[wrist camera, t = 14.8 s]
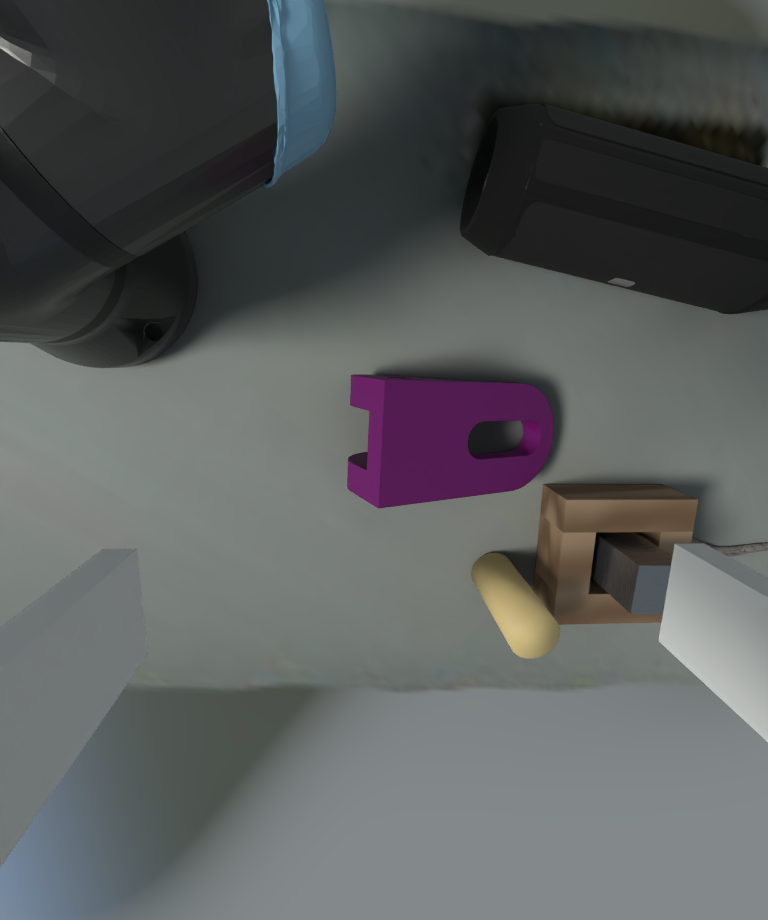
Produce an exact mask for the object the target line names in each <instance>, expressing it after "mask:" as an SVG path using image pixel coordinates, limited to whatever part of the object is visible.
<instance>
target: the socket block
mask: <svg viewBox="0 0 768 920" xmlns="http://www.w3.org/2000/svg"><path fill="white" fill-rule="evenodd" d="M698 501H699V500H698V499H696V498H694V497H691V496H689V495H686V494H684V493H681V492H679V491H677V490H674V489H672V488H669V487H667V486H664V485H662V484H543V493H542V503H541V514H540V524H539V534H538V545H537V555H536V565H535V575H534V586H533V591H534V593H535V594H536V595H537V596H538V598H539V599H540V600H541V602H542V603H543V604H544V606H545V607H546V608H547V609H548V611H549V612H550V613H551V615H552V616H553V617H554V619H555V620H556V621H557V623H558V625H563V624H608V623H653V622H662V617H663V614H630V613H629V612H628V611H627V610H626V609H625V608H624V607H622V606H621V605H620V604H619V603H618V602H617V601H616V600H615V599H614V598H613V597H612V596H611V595H609V594H608V593H607V592H606V591H605V590H604V589H603V588H602V587H601V586H600V585H599V584H598V583H596V582H595V581H594V580H593V579H592V578H591V569H592V561H593V554H594V546H595V538H596V532H636V533H637V534H639V535H640V536H642V537H644V538H645V539H647V540H648V541H650V542H652V543H653V544H655V545H657V546H658V547H660V548H661V549H663V550H665V551H666V552H668V553H669V554H671V555H673V551H674V545H675V544H691V541H692V535H693V529H694V523H695V518H696V512H697V506H698Z"/></svg>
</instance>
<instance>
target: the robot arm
mask: <svg viewBox="0 0 768 920" xmlns="http://www.w3.org/2000/svg"><path fill="white" fill-rule="evenodd" d="M335 109H336V77H335V66H334V56H333V49H332V42H331V36H330V30H329V24H328V19H327V14H326V9H325V4H324V0H0V342H19V343H31V344H32V345H34V346H36V347H38V348H40V349H41V350H43V351H45V352H47V353H49V354H51V355H53V356H55V357H57V358H59V359H61V360H64V361H67V362H70V363H73V364H77V365H82V366H87V367H94V368H116V367H128V366H133V365H137V364H141V363H144V362H146V361H149V360H151V359H153V358H155V357H157V356H158V355H160V354H162V353H163V352H164V351H166V350H167V349H168V348H169V347H170V346H172V345H173V344H174V343H175V341H176V340H177V339H178V338H179V337H180V335H181V334H182V333H183V331H184V330H185V328H186V326H187V324H188V322H189V320H190V318H191V315H192V313H193V309H194V306H195V301H196V295H197V271H196V265H195V260H194V256H193V252H192V249H191V247H190V244H189V241H188V239H187V237H186V235H185V233H184V231H185V230H187V229H189V228H191V227H192V226H194V225H196V224H197V223H199V222H201V221H203V220H204V219H206V218H208V217H210V216H211V215H213V214H215V213H216V212H218V211H220V210H222V209H223V208H225V207H227V206H228V205H230V204H232V203H234V202H235V201H237V200H239V199H241V198H242V197H244V196H246V195H247V194H249V193H251V192H253V191H254V190H256V189H258V188H259V187H261V186H262V187H263V188H265V189H266V188H269V187H271V186H273V185H274V184H275V183H276V182H277V181H278V179H279V178H280V176H281V175H282V174H283V173H285V172H286V171H288V170H289V169H291V168H292V167H294V166H295V165H297V164H299V163H300V162H302V161H303V160H305V159H306V158H308V157H309V156H311V155H312V154H314V153H315V152H317V151H318V150H319V149H320V148H321V146H322V145H323V144H324V143H325V141H326V140H327V137H328V134H329V132H330V129H331V126H332V123H333V121H334V116H335ZM659 642H660V643H661V644H662V645H663V646H665V647H666V648H667V649H668V650H669V651H670V652H671V653H672V654H673V655H674V656H675V657H676V658H677V659H679V660H680V661H681V662H682V663H683V664H684V665H685V666H686V667H687V668H688V669H689V670H690V671H692V672H693V673H694V674H695V675H696V676H697V677H698V678H699V679H700V680H701V681H702V682H703V683H704V684H706V685H707V686H708V687H709V688H710V689H711V690H712V691H713V692H714V693H715V694H716V695H717V696H718V697H720V698H721V699H722V700H723V701H724V702H725V703H726V704H727V705H728V706H729V707H730V708H731V709H733V710H734V711H735V712H736V713H737V714H738V715H739V716H740V717H741V718H742V719H743V720H744V721H745V722H747V723H748V724H749V725H750V726H751V727H752V728H753V729H754V730H755V731H756V732H757V733H758V734H760V735H761V736H762V737H763V738H764V739H765V740H766V741H767V742H768V577H766V576H764V575H762V574H760V573H758V572H756V571H754V570H753V569H751V568H749V567H747V566H745V565H743V564H741V563H739V562H737V561H736V560H734V559H732V558H730V557H728V556H726V555H724V554H722V553H721V552H719V551H717V550H715V549H713V548H711V547H709V546H707V545H705V544H704V543H699V544H675V545H674V551H673V557H672V563H671V569H670V575H669V581H668V587H667V593H666V599H665V605H664V611H663V617H662V623H661V629H660V635H659ZM147 654H148V651H147V641H146V632H145V622H144V613H143V603H142V594H141V584H140V575H139V565H138V556H137V549H102V550H101V551H100V552H98V553H97V554H96V555H95V556H93V557H92V558H91V559H89V560H88V561H87V562H85V563H84V564H83V565H82V566H80V567H79V568H78V569H76V570H75V571H74V572H72V573H71V574H70V575H69V576H67V577H66V578H65V579H63V580H62V581H61V582H60V583H58V584H57V585H56V586H54V587H53V588H52V589H50V590H49V591H48V592H47V593H45V594H44V595H43V596H41V597H40V598H39V599H37V600H36V601H35V602H34V603H32V604H31V605H30V606H28V607H27V608H26V609H25V610H23V611H22V612H21V613H19V614H18V615H17V616H15V617H14V618H13V619H12V620H10V621H9V622H8V623H6V624H5V625H4V626H2V627H1V628H0V868H1V866H2V865H3V864H4V862H5V861H6V859H7V858H8V856H9V855H10V853H11V852H12V850H13V849H14V848H15V846H16V845H17V843H18V842H19V840H20V839H21V837H22V836H23V834H24V833H25V831H26V830H27V829H28V827H29V826H30V824H31V823H32V821H33V820H34V818H35V817H36V816H37V814H38V813H39V811H40V810H41V808H42V807H43V805H44V804H45V803H46V801H47V800H48V798H49V797H50V795H51V794H52V792H53V791H54V789H55V788H56V787H57V785H58V783H59V782H60V781H61V779H62V778H63V776H64V775H65V773H66V772H67V770H68V769H69V768H70V766H71V765H72V763H73V762H74V760H75V759H76V757H77V756H78V754H79V753H80V752H81V750H82V749H83V747H84V746H85V744H86V743H87V741H88V740H89V738H90V737H91V736H92V734H93V733H94V731H95V730H96V728H97V727H98V725H99V724H100V723H101V721H102V720H103V718H104V717H105V715H106V714H107V712H108V711H109V710H110V708H111V707H112V705H113V704H114V702H115V701H116V699H117V698H118V696H119V695H120V693H121V692H122V691H123V689H124V688H125V686H126V685H127V683H128V682H129V680H130V679H131V678H132V676H133V675H134V673H135V672H136V670H137V669H138V667H139V666H140V664H141V663H142V662H143V660H144V659H145V657H146V656H147Z"/></svg>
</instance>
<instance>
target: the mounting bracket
mask: <svg viewBox="0 0 768 920" xmlns="http://www.w3.org/2000/svg"><path fill="white" fill-rule="evenodd" d="M350 405H351V406H354V407H357V408H361V409H365V410H369V411H370V412H369V434H368V452H363V453H358V454H354V455H352V456H350V457H349V458H348V479H347V487H348V489H349V490H350V491H351V492H353V493H354V494H356V495H358V496H359V497H361V498H363V499H364V500H366V501H367V502H369V503H371V504H372V505H374V506H375V507H377V508H385V507H392V506H400V505H408V504H415V503H423V502H431V501H438V500H446V499H453V498H461V497H469V496H476V495H484V494H491V493H499V492H507V491H513V490H516V489H519V488H521V487H523V486H524V485H526V484H527V483H529V482H530V481H531V480H532V479H533V478H534V477H535V476H536V475H537V474H538V473H539V471H540V470H541V468H542V467H543V465H544V463H545V461H546V459H547V457H548V455H549V452H550V449H551V445H552V441H553V434H554V421H553V414H552V410H551V407H550V405H549V402H548V400H547V399H546V397H545V396H544V395H543V393H542V392H541V391H539V390H538V389H537V388H535V387H533V386H531V385H528V384H520V383H510V382H487V381H456V380H445V379H435V378H424V377H409V376H389V375H351V395H350ZM514 420H521V422H522V424H523V427H524V435H523V439H522V441H521V443H520V445H519V446H518V447H517V448H516V449H514V450H512V451H505V452H491V453H478V454H470V453H469V450H468V437H469V434H470V432H471V430H472V429H473V427H474V426H475V425H476V424H478V423H480V422H483V421H514Z"/></svg>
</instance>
